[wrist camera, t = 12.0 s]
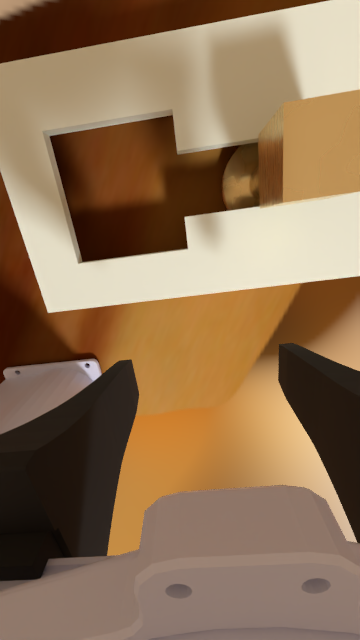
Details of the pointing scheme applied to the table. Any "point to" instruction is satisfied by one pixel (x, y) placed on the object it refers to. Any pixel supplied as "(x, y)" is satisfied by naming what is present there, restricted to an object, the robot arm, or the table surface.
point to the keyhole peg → (299, 155)
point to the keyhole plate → (183, 151)
